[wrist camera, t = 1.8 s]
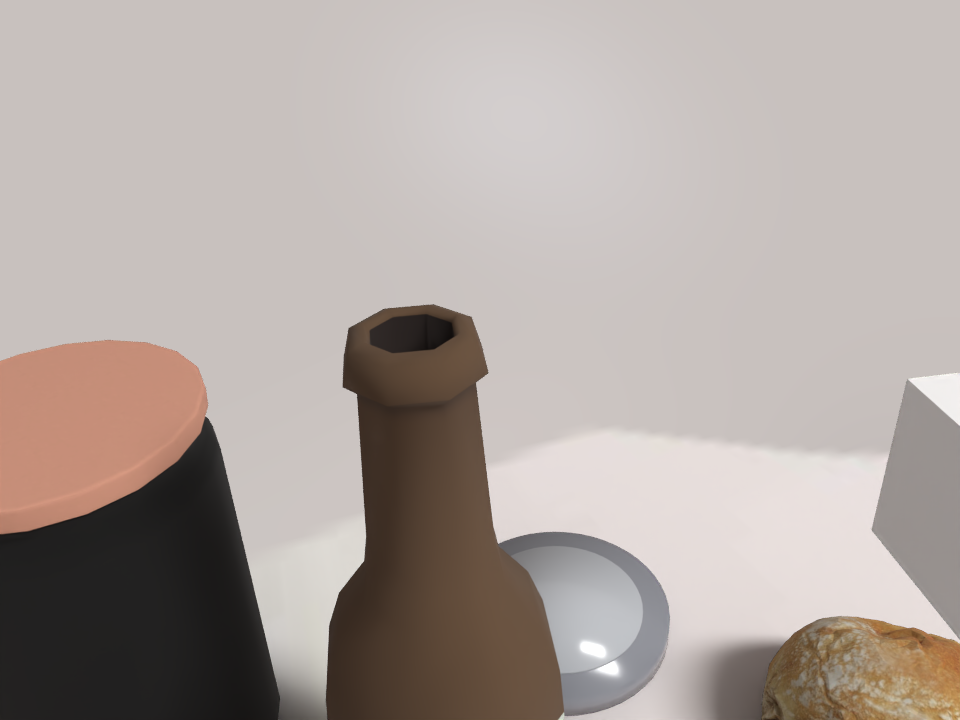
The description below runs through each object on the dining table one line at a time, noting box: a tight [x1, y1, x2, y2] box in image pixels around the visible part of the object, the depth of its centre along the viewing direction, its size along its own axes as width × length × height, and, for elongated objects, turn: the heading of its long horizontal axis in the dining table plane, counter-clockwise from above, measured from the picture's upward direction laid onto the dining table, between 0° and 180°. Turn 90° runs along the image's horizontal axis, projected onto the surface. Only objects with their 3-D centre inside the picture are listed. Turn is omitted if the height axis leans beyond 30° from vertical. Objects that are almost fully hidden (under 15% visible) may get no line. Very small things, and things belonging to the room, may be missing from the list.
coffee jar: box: [0, 340, 280, 720], centre depth 34 cm, size 11×11×18 cm
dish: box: [498, 532, 670, 716], centre depth 44 cm, size 11×11×1 cm
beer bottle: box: [326, 304, 564, 720], centre depth 27 cm, size 8×8×24 cm
